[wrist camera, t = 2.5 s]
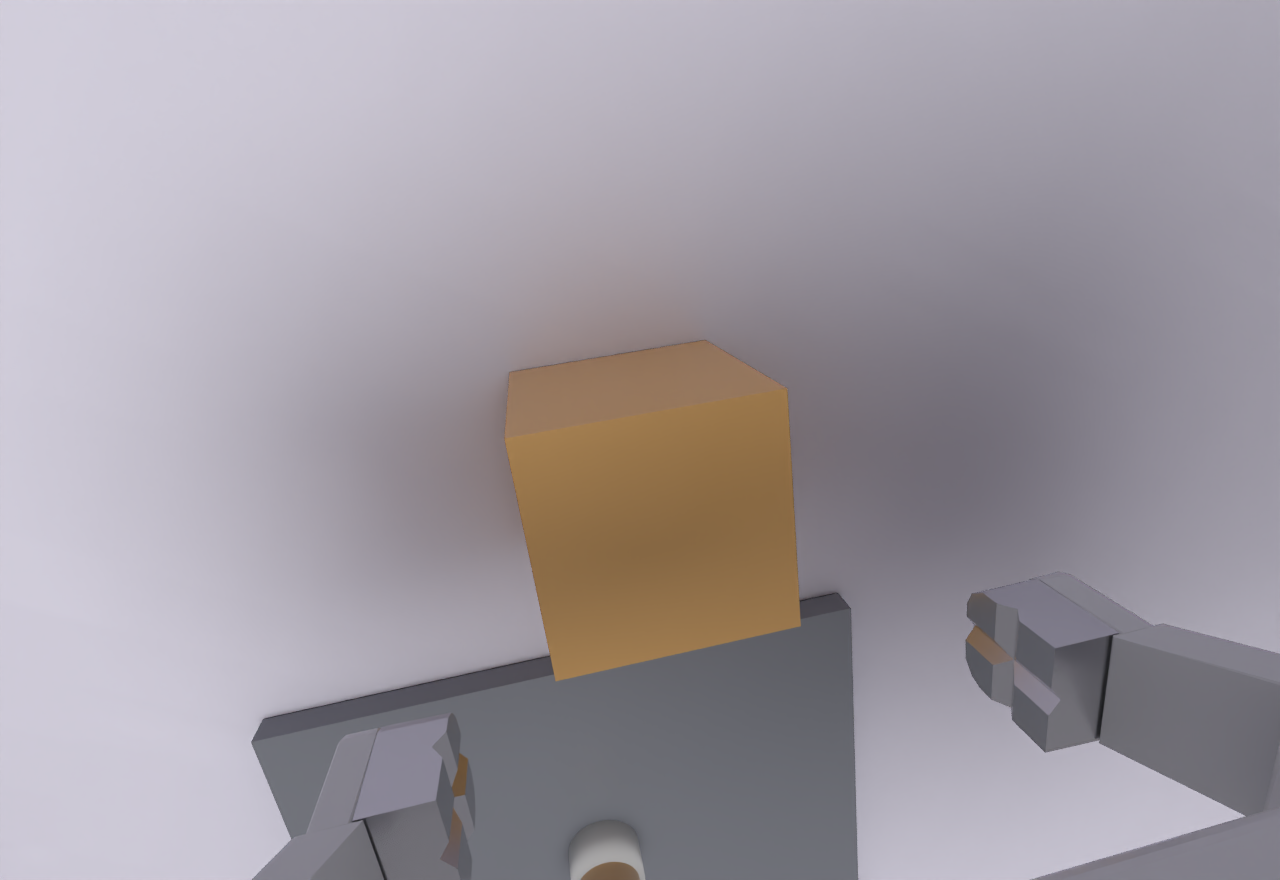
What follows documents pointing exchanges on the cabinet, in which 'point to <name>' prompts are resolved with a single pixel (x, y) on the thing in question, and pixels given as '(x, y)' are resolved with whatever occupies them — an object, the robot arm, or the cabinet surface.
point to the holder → (633, 760)
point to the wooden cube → (654, 503)
